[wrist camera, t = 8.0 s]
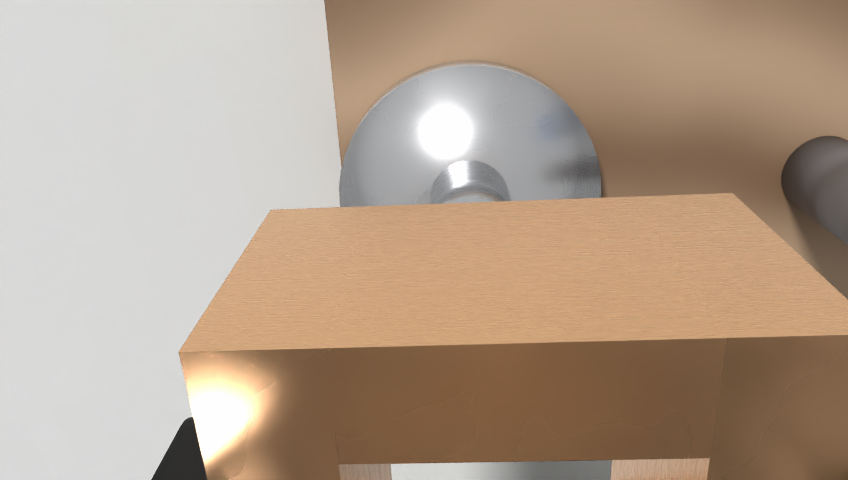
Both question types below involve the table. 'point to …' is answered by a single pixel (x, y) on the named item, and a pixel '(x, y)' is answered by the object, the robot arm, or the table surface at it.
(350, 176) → the steel hub
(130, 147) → the table surface
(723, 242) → the wooden square washer
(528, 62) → the walnut board
